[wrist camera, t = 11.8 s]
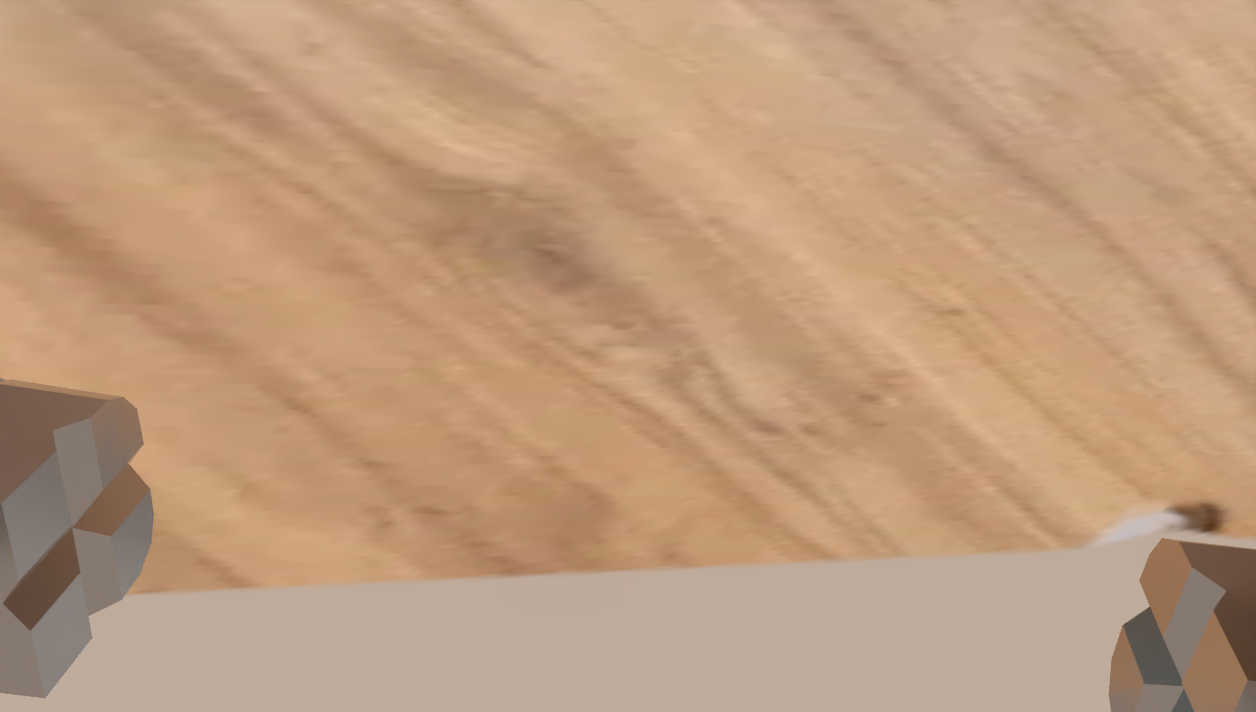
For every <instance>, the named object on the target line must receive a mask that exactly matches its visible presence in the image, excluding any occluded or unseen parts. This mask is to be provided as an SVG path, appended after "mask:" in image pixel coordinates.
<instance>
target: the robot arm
mask: <svg viewBox="0 0 1256 712" xmlns="http://www.w3.org/2000/svg"><path fill="white" fill-rule="evenodd" d="M143 444H144V443H143V438H142V432H141V427H140V422H139V417H138V412H137V409H136V408H135V407H134V406H133V405H132V404H131V403H130V402H128V401H127V400H126V399H125V398H124V397H120V396H113V395H107V394H100V393H94V392H87V391H81V390H75V389H68V388H62V387H55V386H49V385H42V384H36V383H30V382H23V381H17V380H4V379H2V378H0V693H7V694H15V695H23V696H31V697H39V698H46V696H47V695H48V694H49V692H50V691H51V690H52V689H53V687H54V686H55V685H56V684H57V682H58V681H59V680H60V678H61V677H62V676H63V675H64V673H65V672H66V671H67V670H68V668H69V667H70V666H71V664H72V663H73V662H74V661H75V659H76V658H77V657H78V655H79V654H80V653H81V652H82V650H83V649H84V648H85V646H86V645H87V644H88V643H89V641H90V640H91V639H92V635H91V629H90V623H89V617H88V616H89V615H91V614H94V613H95V612H98V611H100V610H102V609H104V608H106V607H108V606H110V605H112V604H114V603H116V602H118V601H120V600H122V598H123V597H124V596H125V594H126V593H127V592H128V590H129V589H130V588H131V586H132V585H133V583H134V582H135V581H136V579H137V578H138V577H139V575H140V572H141V570H142V567H143V564H144V561H145V559H146V556H147V553H148V550H149V548H150V545H151V542H152V529H153V516H154V513H153V506H152V498H151V490H150V488H149V487H148V486H147V485H146V484H145V482H144V481H143V480H142V479H141V478H140V477H139V475H138V474H137V473H136V472H135V471H134V469H133V468H132V467H131V466H130V465H129V463H130V462H131V461H132V459H133V458H134V457H135V455H136V454H137V452H138V451H139V450H140V448H141V447H142V446H143ZM1140 583H1141V585H1142V588H1143V590H1144V593H1145V595H1146V597H1147V600H1148V602H1149V605H1150V607H1149V608H1147V609H1146V610H1144V611H1143V612H1141V613H1140V614H1138V615H1137V616H1135V617H1134V618H1133V619H1131V620H1130V621H1128V622H1127V623H1125V624H1124V625H1123V626H1122V629H1121V632H1120V635H1119V638H1118V642H1117V644H1116V648H1115V650H1114V654H1113V656H1112V662H1111V674H1110V686H1109V699H1110V707H1111V712H1256V549H1249V548H1240V547H1231V546H1223V545H1215V544H1206V543H1197V542H1189V541H1181V540H1171V539H1164V538H1162V539H1161V540H1160V542H1159V543H1158V544H1157V546H1156V547H1155V548H1154V549H1153V551H1152V552H1151V553H1150V555H1149V557H1148V560H1147V563H1146V565H1145V568H1144V571H1143V573H1142V575H1141V578H1140Z"/></svg>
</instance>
